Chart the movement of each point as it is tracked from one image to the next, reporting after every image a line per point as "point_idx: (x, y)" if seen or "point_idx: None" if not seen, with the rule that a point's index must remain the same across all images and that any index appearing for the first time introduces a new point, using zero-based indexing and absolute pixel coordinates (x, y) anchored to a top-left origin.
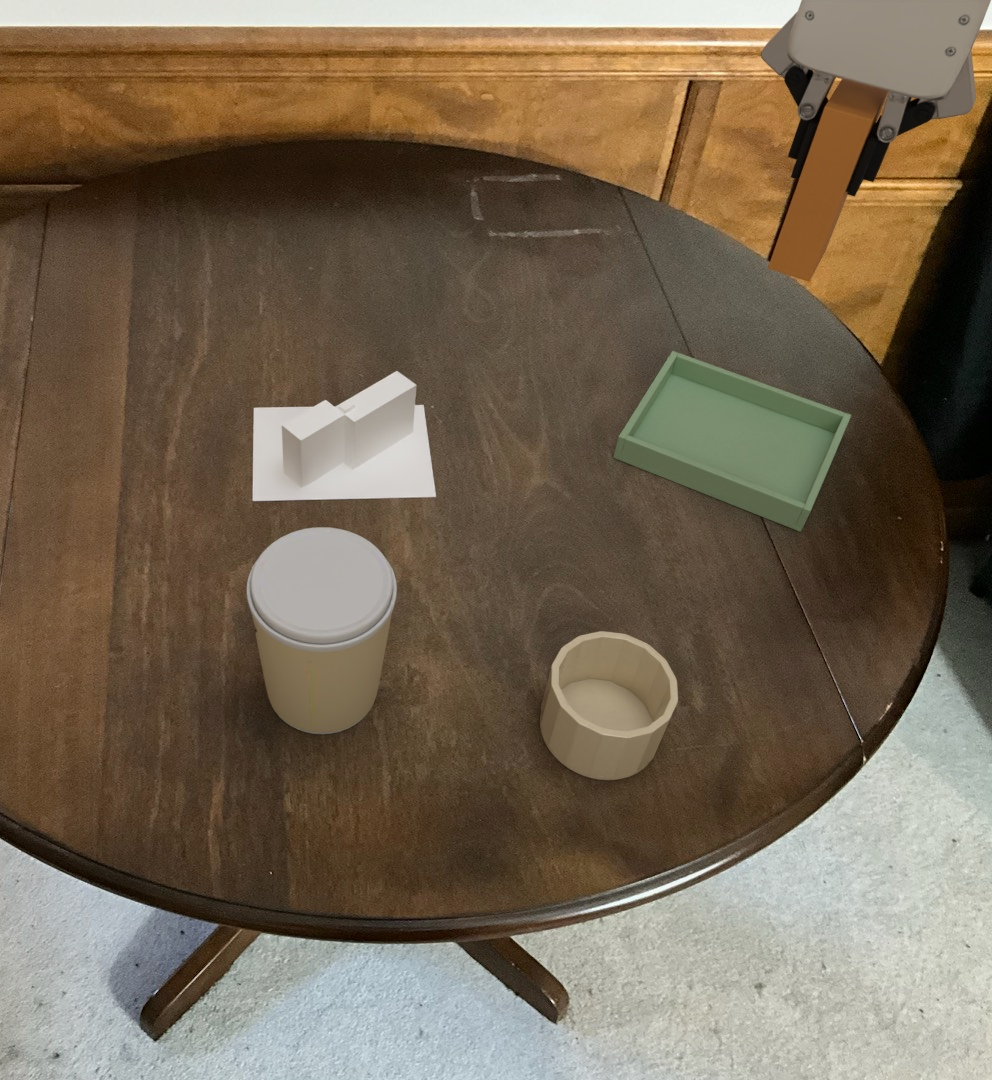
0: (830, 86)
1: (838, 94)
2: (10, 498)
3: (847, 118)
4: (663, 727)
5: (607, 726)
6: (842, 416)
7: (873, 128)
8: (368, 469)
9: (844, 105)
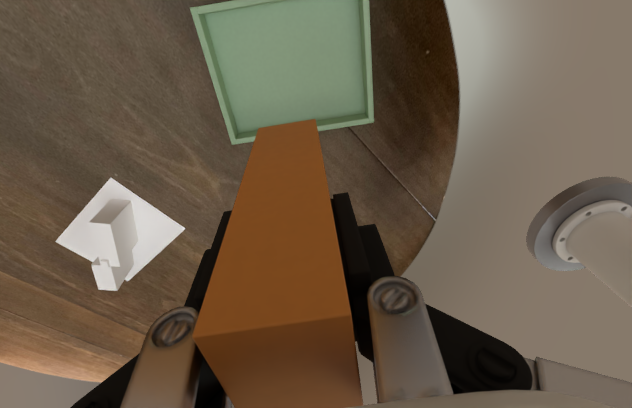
0: (198, 375)
1: (244, 399)
2: (63, 332)
3: None
4: None
5: None
6: None
7: (350, 305)
8: (143, 236)
9: None
